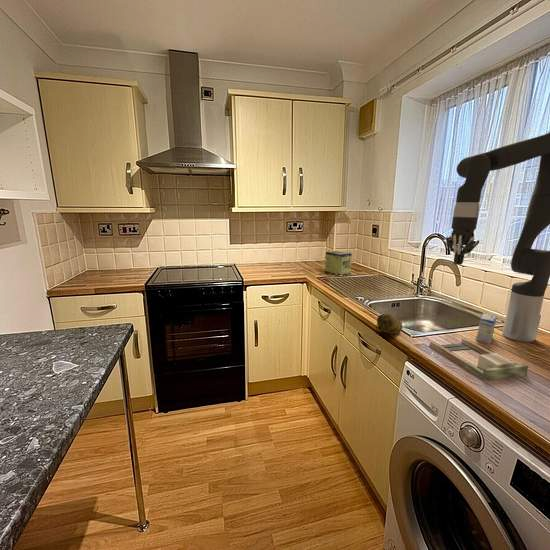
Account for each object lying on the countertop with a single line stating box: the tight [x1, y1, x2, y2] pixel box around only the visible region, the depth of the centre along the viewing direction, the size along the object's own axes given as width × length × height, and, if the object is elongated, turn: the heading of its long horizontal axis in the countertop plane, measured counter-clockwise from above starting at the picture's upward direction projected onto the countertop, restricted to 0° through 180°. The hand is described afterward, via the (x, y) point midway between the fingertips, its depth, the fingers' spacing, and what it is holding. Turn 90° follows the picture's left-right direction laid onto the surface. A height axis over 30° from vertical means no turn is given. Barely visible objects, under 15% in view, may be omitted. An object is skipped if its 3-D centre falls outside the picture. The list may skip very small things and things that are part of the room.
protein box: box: [324, 250, 353, 276], centre depth 213 cm, size 10×16×16 cm
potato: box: [376, 313, 403, 335], centre depth 113 cm, size 8×13×8 cm, turn 112°
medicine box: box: [475, 313, 497, 345], centre depth 109 cm, size 8×4×9 cm, turn 141°
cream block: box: [476, 352, 516, 371], centre depth 88 cm, size 6×6×4 cm
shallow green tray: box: [429, 337, 529, 381], centre depth 95 cm, size 14×22×3 cm, turn 12°
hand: (457, 264), depth 109 cm, fingers closed
